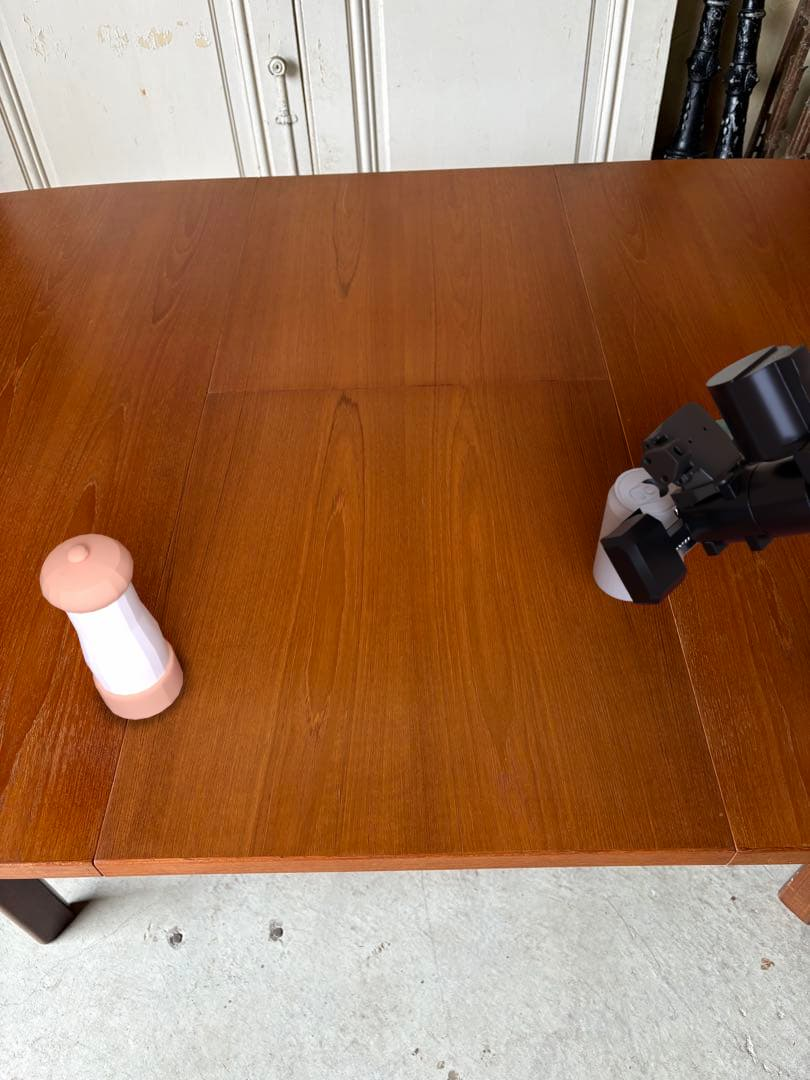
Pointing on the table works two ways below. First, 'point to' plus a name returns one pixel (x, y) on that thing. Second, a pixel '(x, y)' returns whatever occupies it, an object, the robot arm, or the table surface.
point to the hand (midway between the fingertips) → (625, 524)
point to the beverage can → (621, 503)
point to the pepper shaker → (112, 625)
